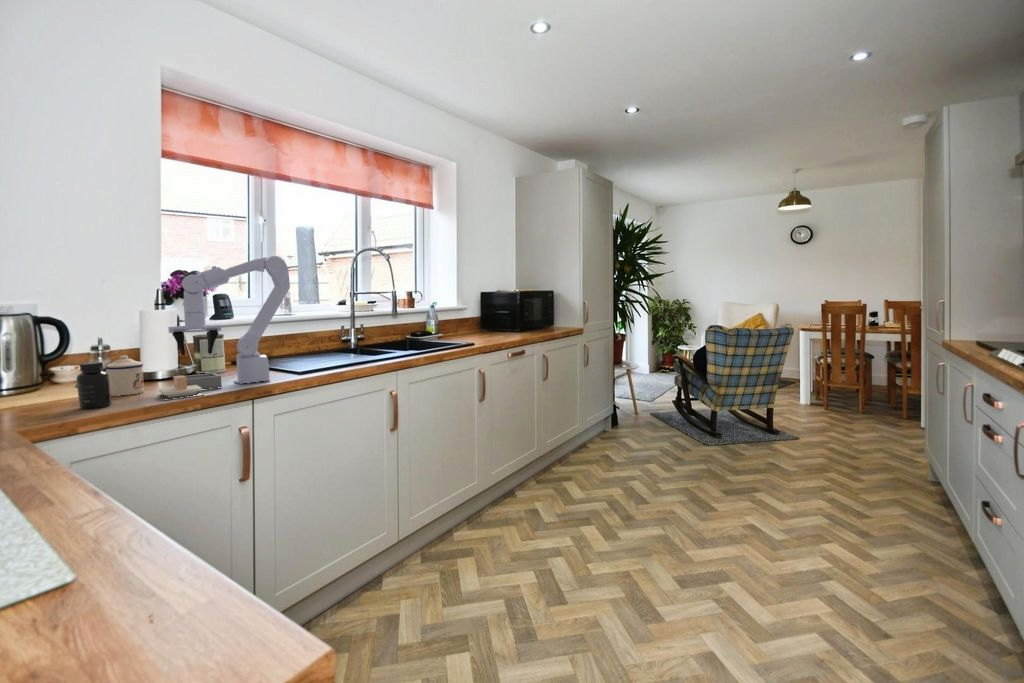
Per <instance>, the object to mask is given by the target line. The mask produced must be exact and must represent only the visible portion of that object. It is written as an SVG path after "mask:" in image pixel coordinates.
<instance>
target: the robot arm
mask: <svg viewBox="0 0 1024 683" xmlns="http://www.w3.org/2000/svg"><path fill="white" fill-rule="evenodd" d="M265 270H266V272H267V274H268V275H269V276H270V277H271V281H272V283H273V287H272V290H271V291H270V293H269V294H268V297H267V299H266V300H265V301H264V304H263V305H262V307H261V309H260V310H259V312H258V313H257V315H256V316H255V319H254V320H253V321H252V322H251V323H252V324H251V325H250V327H249V328H248V329H247V331H246V333H245V334H244V335H242V336H240V338H239V339H238V341H237V343H236V350H237V352H238V353H237V354H235V356H236V372H237V375H236V376H237V379H234V380H233V382H234V381H235V383H237V384H239V383H240V384H239V385H243V384H242V383H247V384H250V383H249V382H256V383H259V382H258V381H264V382H270V381H271V379H270V365H269V358H268V356H267V355H266V354H261V353H260V352H258V349H259V342H260V340H261V338H262V336H263V334H264V333H265V331H266V329H267V328H268V326H269V325H270V322H271V320H272V319H273V317H274V316H275V314H276V312H277V311H278V309H279V307H280V305H281V304H282V302H283V301H284V299H285V297H286V296H287V294H288V292H289V290H290V288H291V284H290V283H291V282H290V274H289V272H290V271H289V267H288V265H287V263H286V260H285V259H284V258H283V257H281V256H279V255H271V256H269V257H267V256H266V257H261V258H254V259H252V260H248V261H246V262H243V263H240V264H237V265H234V266H231V267H228V268H225V267H222V266H217V265H214V266H211V268H210V269H207V270H204V271H201V272H200V271H195V274H193V273H192V274H188V275H187V276H185V277H184V278H182V281H181V286H182V288H183V289H184V290H183V312H184V313H183V315H184V325H178V326H176V325H175V326H168V327H167V328H168V333H169V334H172V337H173V338H174V340H175V342H176V343H177V346H178V348H179V352H180V355H181V356H185V355H186V350H185V334H184V333H200V332H201V333H203V332H204V333H206V334H207V339H208V353H209V354H212V349H213V345H214V342H215V340H216V338H217V336H218V334H219V332H222V325H221V324H214V325H213V324H210V325H208V324H207V325H206V306H205V298H204V291H203V290H204V289H206V290H209V289H212V288H216V287H219V286H222V285H223V286H224V285H226V284H228V283H229V280H230V279H231V278H234V277H237V276H241V275H244V274H247V273H248V274H249V273H252V272H262V273H264V272H265Z"/></svg>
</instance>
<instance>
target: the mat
mask: <svg viewBox="0 0 1024 683" xmlns="http://www.w3.org/2000/svg"><path fill="white" fill-rule="evenodd" d="M199 393H202V391H197V394H199ZM197 394H193V395H197ZM158 395H159V396H160V397H161V398H162V399H161V398H160V397H159V396H158V397H159V398H160V399H161V400H163V399H164V400H163V401H166V400H165V399H172V400H174V399H173V398H180V397H187V396H193V395H185V396H176V397H167V396H166V395H163V394H162V393H160V394H158ZM180 399H181V398H180Z"/></svg>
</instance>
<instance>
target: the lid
mask: <svg viewBox="0 0 1024 683" xmlns="http://www.w3.org/2000/svg"><path fill="white" fill-rule="evenodd" d="M185 376H186V375H184V374H183V375H174V376H172V378H173V386H172V387H164V388H159V390H158V392H160V394H163V395H166V396H167V397H176V396H185V395H193V394H197V391H199V392H202V391H203V390H202V388H201V387H199V386H198V385H189V386H187V381H186V377H185Z"/></svg>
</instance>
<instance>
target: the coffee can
mask: <svg viewBox="0 0 1024 683" xmlns="http://www.w3.org/2000/svg"><path fill="white" fill-rule="evenodd" d="M224 336H225V335H224V334H222V333H218V336H217V338H216V340H215V342H214V345H213V349H212V354H209V353H208V339H207V333H206V334H195V335H192V339H193V340H192V342H193V352H194V353H193V355H194V365H195V364H196V365H197V368H196V374H200V373H205V374H209V373H216V374H218V373H223V372H225V371H226V357H225V341H224V340H225V339H224Z"/></svg>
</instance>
